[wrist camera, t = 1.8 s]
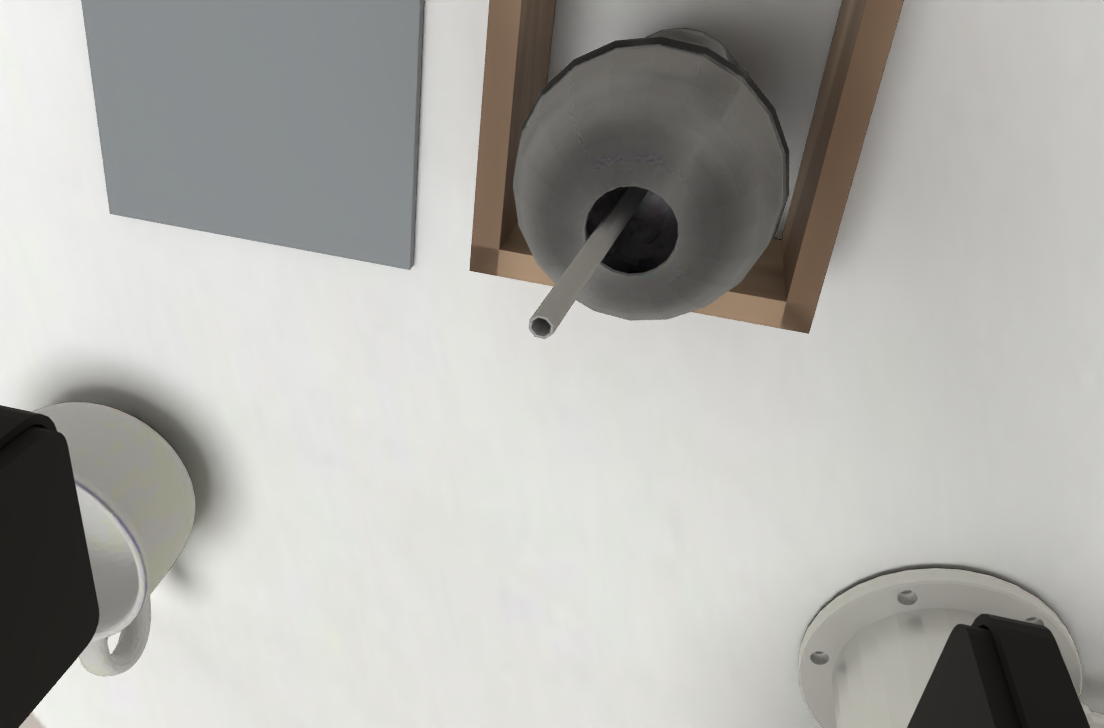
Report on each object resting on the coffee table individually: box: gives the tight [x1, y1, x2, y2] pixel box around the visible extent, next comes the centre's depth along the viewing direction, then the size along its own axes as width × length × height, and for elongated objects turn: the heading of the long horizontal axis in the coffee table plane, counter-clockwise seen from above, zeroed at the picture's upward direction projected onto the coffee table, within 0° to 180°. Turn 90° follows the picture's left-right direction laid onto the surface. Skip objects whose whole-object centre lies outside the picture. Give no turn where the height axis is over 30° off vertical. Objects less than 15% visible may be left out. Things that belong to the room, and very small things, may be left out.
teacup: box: [33, 402, 195, 676], centre depth 46 cm, size 14×11×8 cm
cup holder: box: [470, 0, 904, 334], centre depth 32 cm, size 12×11×6 cm
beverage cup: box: [513, 28, 789, 339], centre depth 25 cm, size 7×7×20 cm
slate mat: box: [81, 0, 424, 270], centre depth 37 cm, size 14×14×1 cm
